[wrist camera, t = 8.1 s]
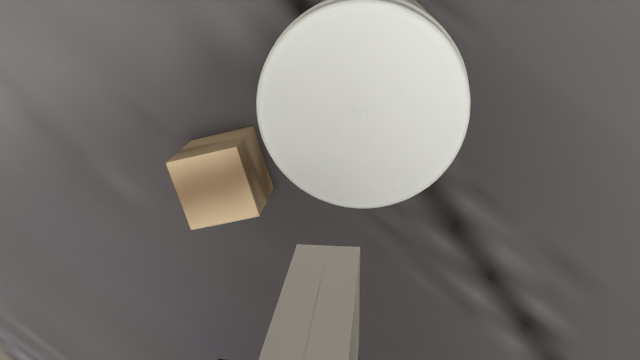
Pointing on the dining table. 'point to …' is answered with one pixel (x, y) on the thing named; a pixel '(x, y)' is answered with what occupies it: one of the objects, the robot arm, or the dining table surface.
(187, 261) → the dining table surface
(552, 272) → the dining table surface
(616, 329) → the dining table surface
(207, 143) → the oak block
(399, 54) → the supplement tub
